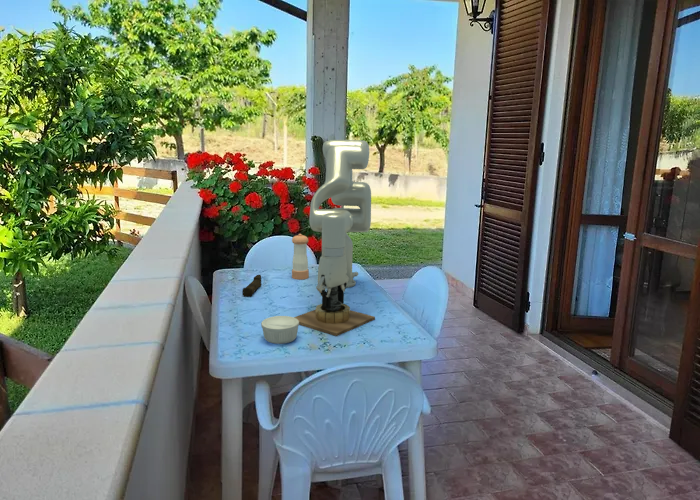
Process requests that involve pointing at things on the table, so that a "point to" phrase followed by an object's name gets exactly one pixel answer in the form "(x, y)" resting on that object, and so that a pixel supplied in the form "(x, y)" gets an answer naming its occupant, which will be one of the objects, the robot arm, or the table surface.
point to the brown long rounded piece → (252, 286)
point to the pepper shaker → (300, 258)
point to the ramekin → (280, 329)
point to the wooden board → (334, 329)
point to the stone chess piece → (334, 300)
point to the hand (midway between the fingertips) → (332, 304)
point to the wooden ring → (333, 314)
